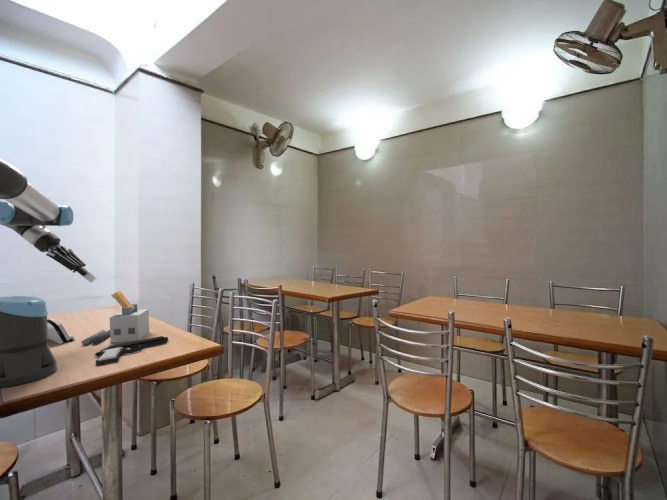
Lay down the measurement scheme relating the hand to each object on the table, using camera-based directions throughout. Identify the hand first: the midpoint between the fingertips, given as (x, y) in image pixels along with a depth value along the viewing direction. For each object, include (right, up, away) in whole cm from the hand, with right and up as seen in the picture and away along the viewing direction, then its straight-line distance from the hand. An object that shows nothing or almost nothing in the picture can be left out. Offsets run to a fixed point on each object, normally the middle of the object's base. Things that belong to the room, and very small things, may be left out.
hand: (94, 279), depth 125 cm
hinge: (-16, -25, +1) cm, 30 cm away
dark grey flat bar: (+2, -24, +1) cm, 24 cm away
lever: (+13, -13, +3) cm, 19 cm away
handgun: (+26, -25, -14) cm, 39 cm away
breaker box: (+13, -24, +3) cm, 27 cm away
